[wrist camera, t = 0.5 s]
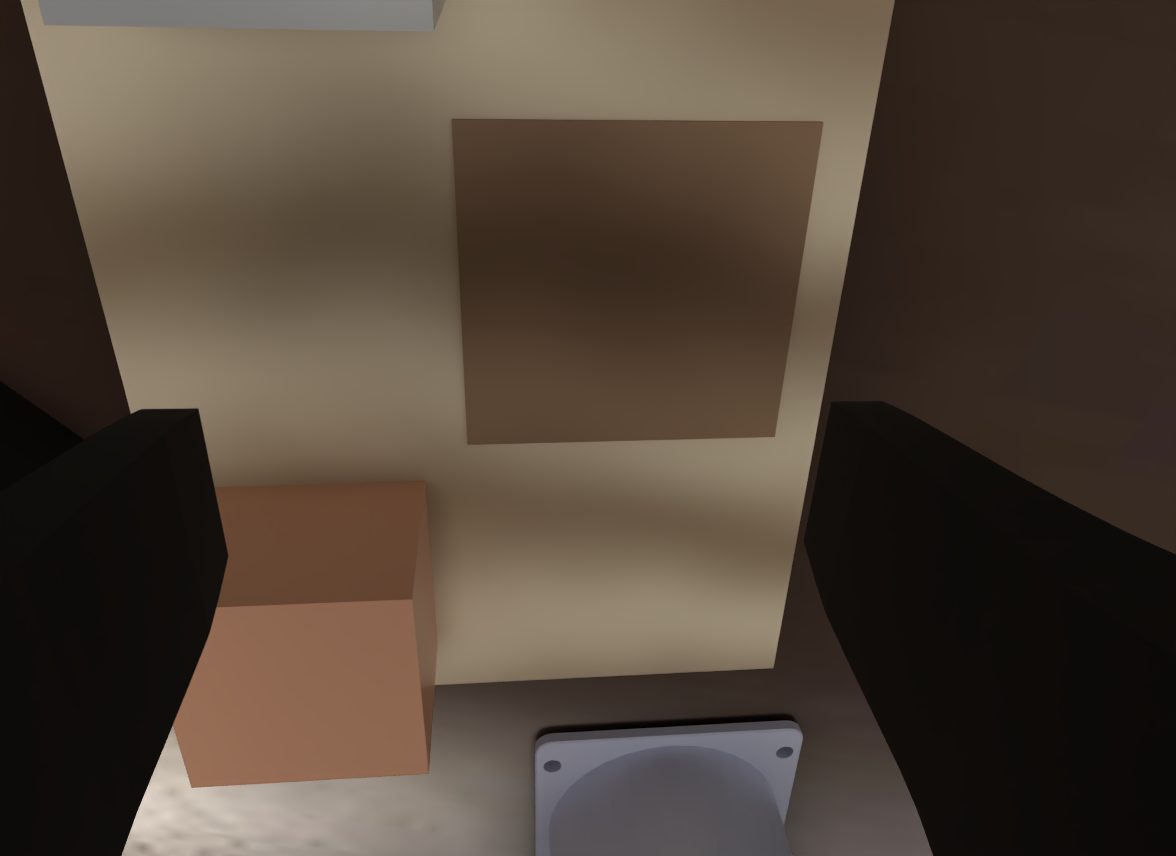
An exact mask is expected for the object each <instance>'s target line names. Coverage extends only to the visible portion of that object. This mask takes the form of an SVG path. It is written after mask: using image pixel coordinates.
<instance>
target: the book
mask: <svg viewBox="0 0 1176 856" xmlns="http://www.w3.org/2000/svg"><path fill="white" fill-rule="evenodd" d="M82 441H84V439H82V438H81V437H79V436H78V435H77V434H75V433H74V432H72V431H71V430H69V429H68V428H67V427H65V426H64V425H62V424H61V423H59V422H58V421H56V420H55V419H54V418H52V417H51V416H49V415H48V414H46V413H45V412H44V411H42V410H41V409H39V408H38V407H36V406H35V405H33V404H32V403H31V402H29V401H28V400H26V399H25V398H23V397H22V396H21V395H19V394H18V393H16V392H15V391H13V390H12V389H10V388H9V387H8V386H6V385H5V384H3V383H2V382H0V492H1V491H2V490H4V489H6V488H7V487H9V486H11V485H12V484H14V483H16V482H17V481H19V480H20V479H22V478H24V477H25V476H27V475H29V474H30V473H32V472H33V471H35V470H37V469H38V468H40V467H42V466H43V465H45V464H47V463H48V462H50V461H51V460H53V459H55V458H56V457H58V456H60V455H61V454H63V453H64V452H66V451H68V450H69V449H71V448H73V447H74V446H76V445H77V444H79V443H81V442H82Z"/></svg>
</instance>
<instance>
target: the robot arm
mask: <svg viewBox="0 0 1176 856" xmlns="http://www.w3.org/2000/svg"><path fill="white" fill-rule="evenodd" d="M804 543H805V547H806V550H807V554H808V557H809V561H810V564H811V568H812V571H813V575H814V578H815V582H816V585H817V588H818V591H819V594H820V597H821V600H822V603H823V606H824V609H825V612H826V614H827V617H828V619H829V621H830V623H831V626H832V628H833V630H834V632H835V634H836V636H837V639H838V641H839V643H840V645H841V647H842V649H843V651H844V654H845V656H846V658H847V660H848V662H849V664H850V666H851V669H852V671H853V673H854V675H855V677H856V679H857V681H858V683H859V685H860V687H861V689H862V691H863V694H864V696H865V698H866V700H867V702H868V704H869V706H870V708H871V710H872V712H873V714H874V717H875V719H876V721H877V723H878V725H879V727H880V729H881V731H882V733H883V735H884V737H885V739H886V742H887V744H888V746H889V748H890V750H891V752H892V754H893V756H894V758H895V760H896V762H897V765H898V767H899V769H900V771H901V773H902V775H903V778H904V780H905V782H906V785H907V787H908V789H909V792H910V794H911V797H912V799H913V801H914V804H915V806H916V808H917V811H918V814H919V816H920V819H921V822H922V825H923V828H924V830H925V833H926V836H927V839H928V842H929V845H930V847H931V850H932V853H933V856H1176V554H1174V553H1171V552H1169V551H1167V550H1164V549H1162V548H1160V547H1157V546H1155V545H1153V544H1151V543H1149V542H1147V541H1144V540H1142V539H1140V538H1138V537H1136V536H1134V535H1132V534H1129V533H1127V532H1125V531H1123V530H1121V529H1119V528H1117V527H1115V526H1113V525H1111V524H1109V523H1107V522H1105V521H1103V520H1101V519H1099V518H1097V517H1095V516H1093V515H1091V514H1089V513H1088V512H1086V511H1084V510H1082V509H1080V508H1078V507H1076V506H1074V505H1072V504H1070V503H1068V502H1066V501H1064V500H1062V499H1060V498H1058V497H1057V496H1055V495H1053V494H1051V493H1049V492H1047V491H1045V490H1044V489H1042V488H1040V487H1038V486H1036V485H1034V484H1033V483H1031V482H1029V481H1027V480H1025V479H1024V478H1022V477H1020V476H1018V475H1016V474H1015V473H1013V472H1011V471H1009V470H1008V469H1006V468H1004V467H1002V466H1001V465H999V464H997V463H995V462H994V461H992V460H990V459H988V458H987V457H985V456H983V455H981V454H980V453H978V452H976V451H974V450H973V449H971V448H969V447H967V446H966V445H964V444H962V443H960V442H959V441H957V440H955V439H954V438H952V437H950V436H948V435H947V434H945V433H943V432H941V431H940V430H938V429H936V428H934V427H932V426H931V425H929V424H927V423H925V422H923V421H922V420H920V419H918V418H916V417H914V416H912V415H910V414H908V413H906V412H904V411H902V410H900V409H898V408H896V407H894V406H892V405H889V404H887V403H885V402H882V401H861V402H831V407H830V412H829V417H828V422H827V427H826V432H825V437H824V442H823V447H822V452H821V457H820V462H819V467H818V473H817V478H816V483H815V488H814V493H813V498H812V503H811V508H810V513H809V518H808V523H807V528H806V533H805V538H804ZM227 561H228V551H227V546H226V541H225V536H224V531H223V526H222V521H221V517H220V512H219V507H218V502H217V497H216V492H215V487H214V482H213V477H212V472H211V467H210V463H209V458H208V453H207V448H206V443H205V438H204V433H203V428H202V423H201V418H200V413H199V409H198V408H190V409H140V410H138V411H136V412H134V413H132V414H129V415H127V416H125V417H124V418H122V419H120V420H118V421H116V422H114V423H113V424H111V425H109V426H107V427H106V428H104V429H102V430H101V431H99V432H97V433H96V434H94V435H92V436H91V437H89V438H87V439H86V440H84V441H82V442H81V443H79V444H77V445H76V446H74V447H73V448H71V449H69V450H68V451H66V452H64V453H63V454H61V455H60V456H58V457H56V458H55V459H53V460H51V461H50V462H48V463H47V464H45V465H43V466H42V467H40V468H38V469H37V470H35V471H33V472H32V473H30V474H29V475H27V476H25V477H24V478H22V479H20V480H19V481H17V482H16V483H14V484H12V485H11V486H9V487H7V488H6V489H4V490H2V491H1V492H0V856H121V855H122V852H123V850H124V847H125V844H126V841H127V838H128V836H129V833H130V830H131V827H132V825H133V822H134V819H135V816H136V813H137V811H138V808H139V806H140V803H141V801H142V799H143V796H144V794H145V791H146V789H147V786H148V784H149V782H150V779H151V777H152V774H153V772H154V769H155V767H156V765H157V762H158V760H159V757H160V755H161V752H162V750H163V748H164V745H165V743H166V740H167V738H168V735H169V733H170V731H171V728H172V726H173V723H174V721H175V718H176V716H177V714H178V711H179V709H180V706H181V704H182V701H183V699H184V697H185V694H186V692H187V689H188V687H189V684H190V682H191V679H192V677H193V674H194V672H195V669H196V667H197V664H198V662H199V659H200V657H201V654H202V652H203V649H204V647H205V644H206V641H207V639H208V636H209V634H210V630H211V627H212V623H213V619H214V615H215V611H216V607H217V604H218V600H219V596H220V591H221V587H222V583H223V578H224V574H225V569H226V565H227ZM802 741H803V735H802V732H801V729H800V727H799V725H798V724H797V723H795V722H793V721H788V720H782V721H764V722H746V723H728V724H710V725H692V726H674V727H656V728H638V729H620V730H602V731H584V732H566V733H551V734H546V735H544V736H542V737H540V738H539V739H538V740H537V741H536V744H535V856H793V855H792V851H791V848H790V845H789V842H788V839H787V835H786V832H785V829H784V824H785V819H786V814H787V810H788V805H789V801H790V796H791V791H792V787H793V782H794V778H795V773H796V768H797V764H798V759H799V755H800V750H801V745H802ZM551 760H555V761H551Z"/></svg>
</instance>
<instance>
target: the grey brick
mask: <svg viewBox="0 0 1176 856" xmlns="http://www.w3.org/2000/svg"><path fill="white" fill-rule="evenodd" d="M38 3H39V7H40V11H41V15H42V19H43V23H44V25H57V26H120V27H182V28H244V29H306V30H368V31H431V32H434V30H435V27H436V25H437V22H438V19H439V16H440V14H441V11H442V8H443V6H444V3H445V0H38Z"/></svg>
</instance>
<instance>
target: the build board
mask: <svg viewBox="0 0 1176 856" xmlns="http://www.w3.org/2000/svg"><path fill="white" fill-rule="evenodd" d="M894 1H895V0H445V3H444V6H443V8H442V11H441V14H440V16H439V19H438V22H437V25H436V27H435V30H434V32H431V31H368V30H306V29H244V28H182V27H120V26H57V25H44V23H43V19H42V15H41V11H40V7H39V3H38V0H21V3H22V7H23V10H24V14H25V18H26V22H27V25H28V29H29V33H30V37H31V40H32V44H33V48H34V52H35V55H36V59H37V63H38V67H39V70H40V74H41V78H42V82H43V85H44V89H45V93H46V97H47V100H48V104H49V108H50V112H51V115H52V119H53V123H54V127H55V130H56V134H57V138H58V142H59V145H60V149H61V153H62V157H63V160H64V164H65V168H66V172H67V175H68V179H69V183H70V187H71V190H72V194H73V198H74V202H75V205H76V209H77V213H78V217H79V220H80V224H81V228H82V232H83V235H84V239H85V243H86V247H87V250H88V254H89V258H90V262H91V265H92V269H93V273H94V277H95V281H96V284H97V288H98V292H99V296H100V299H101V303H102V307H103V311H104V314H105V318H106V322H107V326H108V329H109V333H110V337H111V341H112V344H113V348H114V352H115V356H116V359H117V363H118V367H119V371H120V374H121V378H122V382H123V386H124V389H125V393H126V397H127V401H128V404H129V408H130V412H131V414H132V413H134V412H136V411H138V410H140V409H190V408H198V409H199V413H200V418H201V423H202V428H203V433H204V438H205V443H206V448H207V453H208V458H209V463H210V467H211V472H212V477H213V482H214V487H241V486H275V485H309V484H343V483H377V482H411V481H425V487H426V500H427V512H428V525H429V538H430V551H431V563H432V576H433V589H434V602H435V614H436V627H437V640H438V646H437V661H436V676H435V685H444V684H464V683H484V682H504V681H524V680H544V679H564V678H584V677H604V676H624V675H644V674H664V673H684V672H704V671H724V670H744V669H764V668H773V667H774V661H775V656H776V650H777V645H778V639H779V634H780V628H781V623H782V617H783V612H784V606H785V601H786V595H787V590H788V584H789V579H790V573H791V568H792V562H793V557H794V551H795V546H796V540H797V535H798V529H799V524H800V518H801V513H802V507H803V502H804V496H805V491H806V485H807V480H808V474H809V469H810V463H811V458H812V452H813V447H814V441H815V436H816V430H817V425H818V419H819V414H820V408H821V403H822V397H823V392H824V386H825V381H826V375H827V370H828V364H829V359H830V353H831V348H832V342H833V337H834V331H835V326H836V320H837V315H838V309H839V304H840V298H841V293H842V287H843V282H844V276H845V271H846V265H847V260H848V254H849V249H850V243H851V238H852V232H853V227H854V221H855V216H856V210H857V205H858V199H859V194H860V188H861V183H862V177H863V172H864V166H865V161H866V155H867V150H868V144H869V139H870V133H871V128H872V122H873V117H874V111H875V106H876V100H877V95H878V89H879V84H880V78H881V73H882V67H883V62H884V56H885V51H886V45H887V40H888V34H889V29H890V23H891V18H892V12H893V7H894Z"/></svg>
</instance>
